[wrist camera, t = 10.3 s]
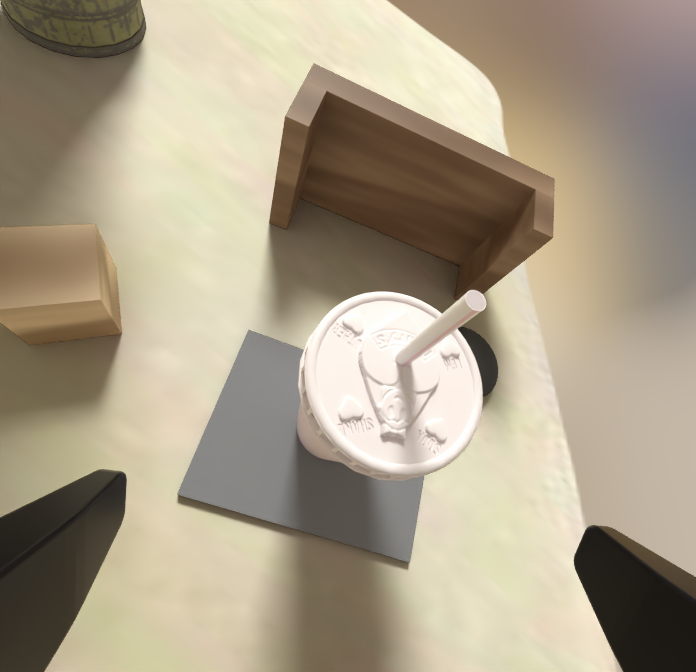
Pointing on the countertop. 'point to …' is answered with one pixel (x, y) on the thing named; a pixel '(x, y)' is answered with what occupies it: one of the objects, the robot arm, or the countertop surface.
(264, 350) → the mat
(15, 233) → the oak cube
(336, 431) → the smoothie
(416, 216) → the cubby
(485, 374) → the dark grey disc
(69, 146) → the countertop surface
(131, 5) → the thermos
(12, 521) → the robot arm
